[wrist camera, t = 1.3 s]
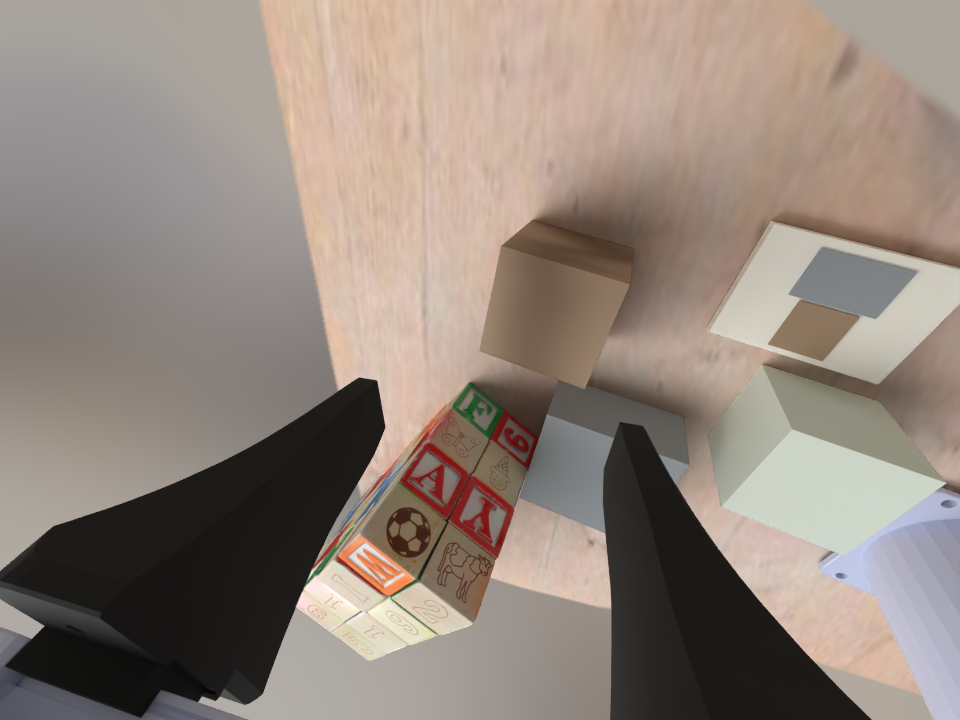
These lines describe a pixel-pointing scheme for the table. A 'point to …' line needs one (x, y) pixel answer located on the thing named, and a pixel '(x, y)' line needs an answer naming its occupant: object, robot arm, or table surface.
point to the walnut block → (555, 300)
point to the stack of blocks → (424, 532)
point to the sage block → (816, 461)
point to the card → (835, 301)
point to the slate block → (593, 449)
